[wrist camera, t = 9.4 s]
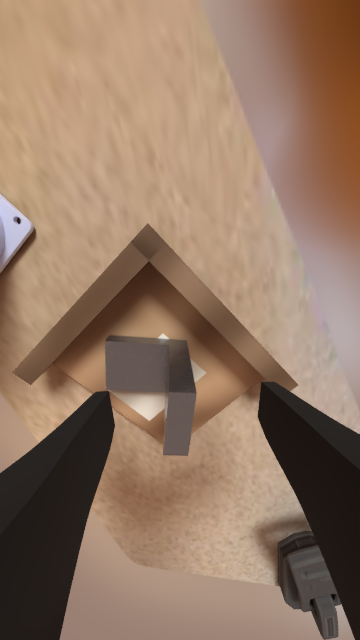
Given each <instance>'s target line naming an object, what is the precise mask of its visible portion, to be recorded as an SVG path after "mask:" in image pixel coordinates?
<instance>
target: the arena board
mask: <svg viewBox="0 0 360 640" xmlns="http://www.w3.org/2000/svg"><path fill="white" fill-rule="evenodd" d="M109 335H117V336H132V337H146V338H161V339H176V340H187V344H188V349H189V354H190V360H191V365H192V370H193V376H194V381H195V386H196V392H197V396H196V403H195V410H194V417H193V424H192V431H191V434H192V433H193V432H194V431H196V430H197V429H198V428H199V427H201V426H202V425H203V424H204V423H206V422H207V421H208V420H210V419H211V418H212V417H213V416H215V415H216V414H217V413H219V412H220V411H221V410H222V409H224V408H225V407H226V406H228V405H229V404H230V403H231V402H233V401H234V400H235V399H237V398H238V397H239V396H240V395H242V394H243V393H244V392H246V391H247V390H248V389H249V388H251V387H252V386H253V385H255V384H256V383H257V382H258V381H260V380H261V379H262V378H263V376H262V375H261V374H260V373H259V372H258V371H257V370H256V369H255V368H254V367H253V366H252V365H251V364H250V363H249V362H248V361H247V360H246V359H245V358H244V357H243V356H242V355H241V354H240V353H239V352H238V351H237V350H236V349H235V348H234V347H233V346H232V345H231V344H230V343H229V342H228V341H227V340H226V339H225V338H224V337H223V336H222V334H221V333H220V332H219V331H218V330H217V329H216V328H215V327H214V326H213V325H212V324H211V323H210V322H209V321H208V320H207V319H206V318H205V317H204V316H203V315H202V314H201V313H200V312H199V311H198V310H197V309H196V308H195V307H194V306H193V305H192V304H191V303H190V302H189V301H188V300H187V299H186V298H185V297H184V296H183V295H182V294H181V293H180V292H179V291H178V290H177V289H176V288H175V287H174V286H173V285H172V284H171V283H170V282H169V281H168V280H167V279H166V278H165V277H164V276H163V275H162V274H161V273H160V272H159V271H158V270H157V269H156V268H155V267H154V266H153V265H152V264H151V263H150V262H149V263H148V264H147V265H146V266H145V267H144V269H143V270H142V271H141V272H140V273H139V274H138V275H137V276H136V277H135V278H134V279H133V280H132V281H131V282H130V283H129V284H128V285H127V286H126V287H125V288H124V289H123V291H122V292H121V293H120V294H119V295H118V296H117V297H116V298H115V299H114V300H113V301H112V302H111V303H110V304H109V305H108V306H107V307H106V308H105V309H104V310H103V311H102V313H101V314H100V315H99V316H98V317H97V318H96V319H95V320H94V321H93V322H92V323H91V324H90V325H89V326H88V327H87V328H86V329H85V330H84V331H83V332H82V333H81V335H80V336H79V337H78V338H77V339H76V340H75V341H74V342H73V343H72V344H71V345H70V346H69V347H68V348H67V349H66V350H65V351H64V352H63V353H62V354H61V355H60V357H59V358H58V359H57V360H56V361H55V362H54V363H53V364H54V365H55V366H56V367H58V368H59V369H60V370H62V371H63V372H65V373H66V374H67V375H69V376H70V377H72V378H73V379H74V380H76V381H77V382H78V383H80V384H81V385H83V386H84V387H85V388H87V389H88V390H89V391H91V392H92V393H95V392H98V391H109V393H110V399H111V405H112V407H113V408H114V409H116V410H117V411H118V412H120V413H121V414H123V415H124V416H125V417H127V418H128V419H129V420H131V421H132V422H134V423H135V424H136V425H138V426H139V427H141V428H142V429H143V430H145V431H146V432H147V433H149V434H150V435H152V436H153V437H154V438H156V439H157V440H158V441H160V442H161V443H163V444H164V414H165V393H163V392H143V391H122V390H106V365H105V340H106V339H107V337H108V336H109Z"/></svg>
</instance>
